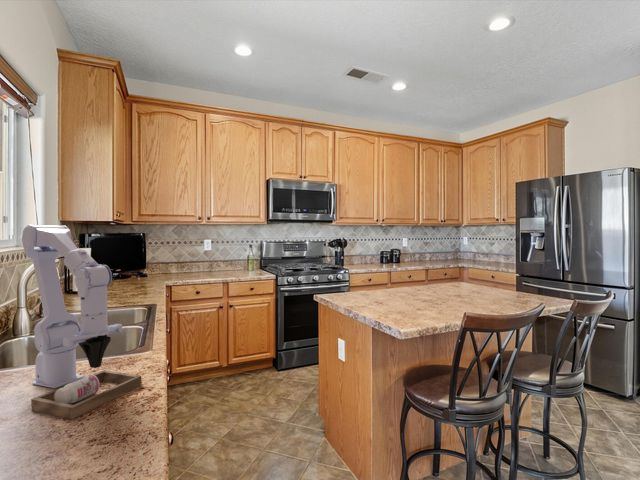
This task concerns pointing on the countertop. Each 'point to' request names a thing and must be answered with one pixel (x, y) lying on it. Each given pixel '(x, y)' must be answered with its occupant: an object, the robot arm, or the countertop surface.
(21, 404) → the countertop surface
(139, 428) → the countertop surface
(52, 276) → the robot arm
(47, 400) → the walnut frame
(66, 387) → the pill bottle
